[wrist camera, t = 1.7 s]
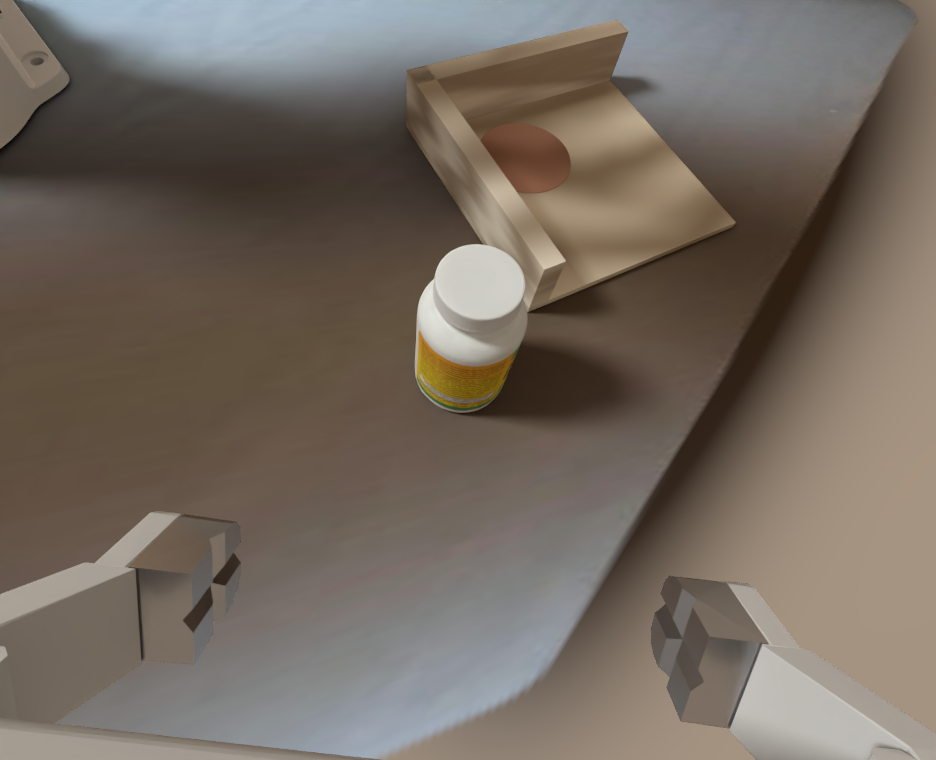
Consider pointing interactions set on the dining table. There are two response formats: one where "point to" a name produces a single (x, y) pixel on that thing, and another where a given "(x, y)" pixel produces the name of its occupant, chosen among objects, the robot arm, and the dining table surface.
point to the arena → (557, 161)
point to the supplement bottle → (469, 327)
